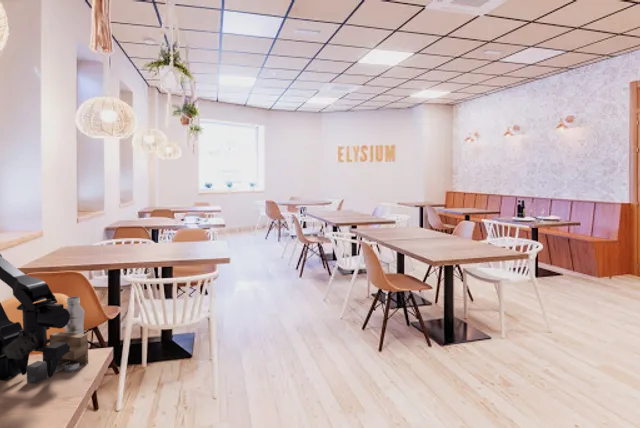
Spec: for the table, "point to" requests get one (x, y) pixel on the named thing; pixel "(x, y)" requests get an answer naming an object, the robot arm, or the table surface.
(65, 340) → the plinth cabinet
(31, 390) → the table surface
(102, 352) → the table surface
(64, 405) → the table surface
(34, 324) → the robot arm
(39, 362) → the grey mallet
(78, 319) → the plastic bottle
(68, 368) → the steel token
